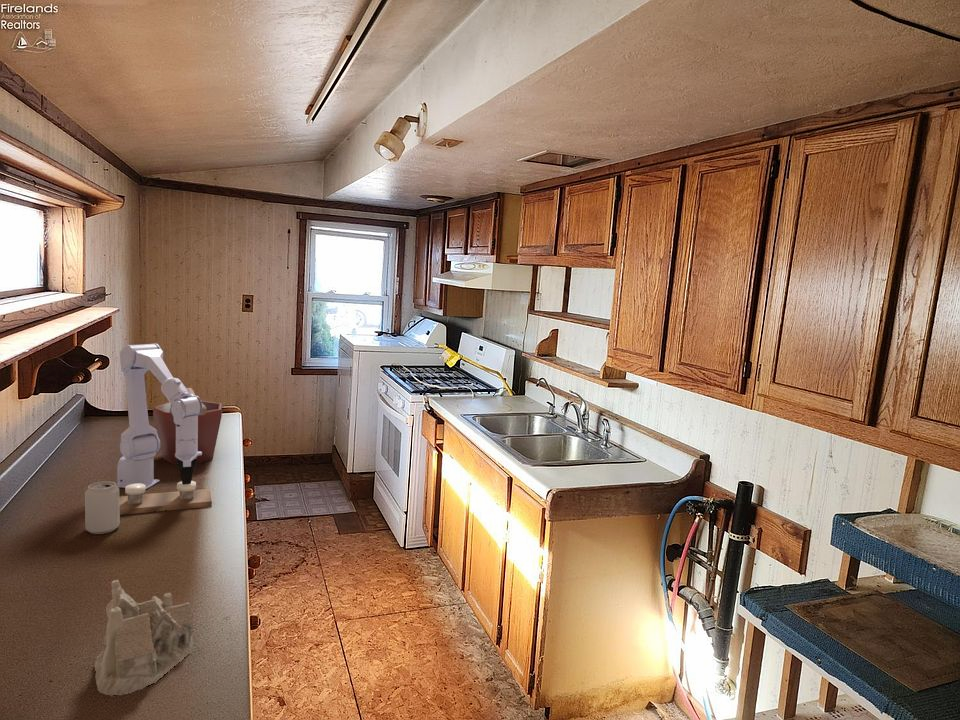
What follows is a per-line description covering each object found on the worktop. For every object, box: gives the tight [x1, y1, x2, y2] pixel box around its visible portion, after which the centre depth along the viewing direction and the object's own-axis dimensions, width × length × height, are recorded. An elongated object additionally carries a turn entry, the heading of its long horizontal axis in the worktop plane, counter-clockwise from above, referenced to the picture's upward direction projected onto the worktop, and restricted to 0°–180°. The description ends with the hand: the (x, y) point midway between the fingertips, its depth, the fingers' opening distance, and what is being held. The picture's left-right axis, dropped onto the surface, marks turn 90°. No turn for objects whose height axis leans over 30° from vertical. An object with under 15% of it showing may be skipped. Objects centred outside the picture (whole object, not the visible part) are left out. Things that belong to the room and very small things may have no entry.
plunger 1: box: [124, 483, 147, 496], centre depth 173 cm, size 5×5×4 cm
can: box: [84, 480, 121, 535], centre depth 157 cm, size 8×8×12 cm
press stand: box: [119, 488, 213, 516], centre depth 176 cm, size 26×11×4 cm, turn 116°
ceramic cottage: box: [93, 579, 195, 695], centre depth 107 cm, size 16×16×15 cm
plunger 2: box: [176, 480, 197, 492], centre depth 179 cm, size 5×5×4 cm
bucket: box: [152, 387, 223, 465], centre depth 218 cm, size 24×22×25 cm
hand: (186, 483), depth 178 cm, fingers closed, pressing on plunger 2
